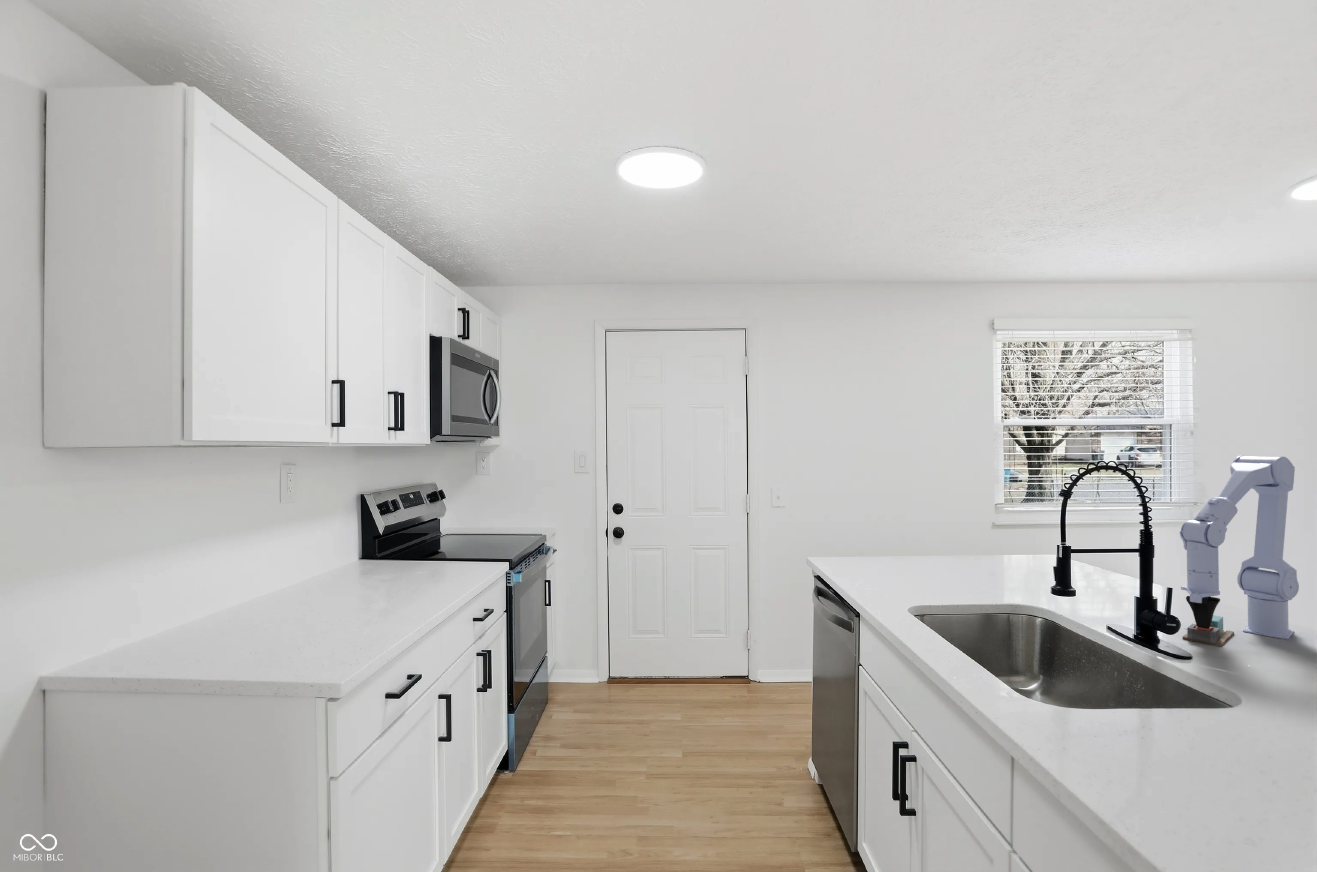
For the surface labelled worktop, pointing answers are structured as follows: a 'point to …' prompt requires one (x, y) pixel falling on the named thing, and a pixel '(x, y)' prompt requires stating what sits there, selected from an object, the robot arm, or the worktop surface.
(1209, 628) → the button
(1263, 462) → the robot arm
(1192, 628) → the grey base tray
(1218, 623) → the teal block
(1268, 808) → the worktop surface
